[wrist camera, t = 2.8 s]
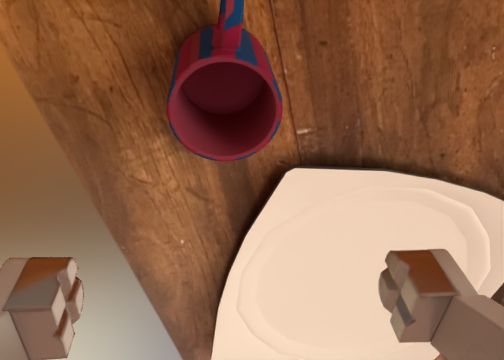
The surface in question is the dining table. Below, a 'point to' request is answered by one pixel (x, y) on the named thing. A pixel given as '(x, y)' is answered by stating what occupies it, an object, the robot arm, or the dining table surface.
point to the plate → (347, 262)
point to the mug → (224, 90)
